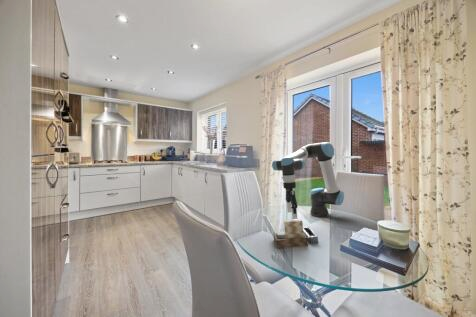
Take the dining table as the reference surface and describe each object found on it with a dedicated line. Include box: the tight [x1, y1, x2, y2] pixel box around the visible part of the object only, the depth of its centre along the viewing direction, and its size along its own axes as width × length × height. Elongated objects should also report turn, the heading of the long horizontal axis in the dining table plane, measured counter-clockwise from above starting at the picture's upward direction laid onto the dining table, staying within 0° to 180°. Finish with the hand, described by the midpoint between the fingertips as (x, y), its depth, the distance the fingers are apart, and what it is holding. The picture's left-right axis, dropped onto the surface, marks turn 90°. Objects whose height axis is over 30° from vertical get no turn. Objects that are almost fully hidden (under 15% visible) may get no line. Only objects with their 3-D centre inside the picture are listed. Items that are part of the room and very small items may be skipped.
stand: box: [303, 226, 319, 244], centre depth 131 cm, size 16×5×4 cm, turn 178°
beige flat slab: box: [283, 219, 304, 239], centre depth 124 cm, size 11×2×15 cm, turn 88°
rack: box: [272, 231, 309, 249], centre depth 127 cm, size 19×12×5 cm, turn 88°
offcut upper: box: [275, 230, 285, 238], centre depth 130 cm, size 5×5×3 cm
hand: (292, 215), depth 124 cm, fingers open, 13 cm apart
